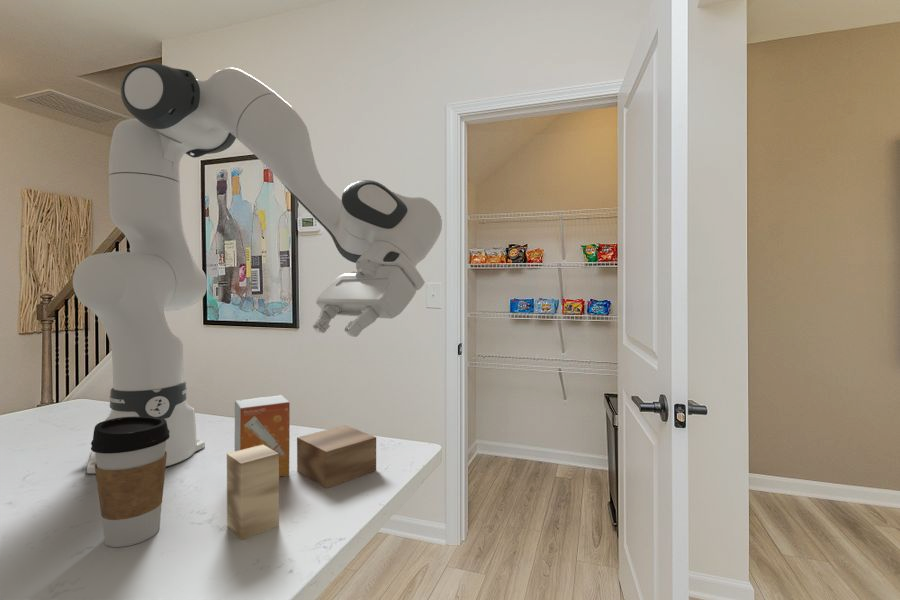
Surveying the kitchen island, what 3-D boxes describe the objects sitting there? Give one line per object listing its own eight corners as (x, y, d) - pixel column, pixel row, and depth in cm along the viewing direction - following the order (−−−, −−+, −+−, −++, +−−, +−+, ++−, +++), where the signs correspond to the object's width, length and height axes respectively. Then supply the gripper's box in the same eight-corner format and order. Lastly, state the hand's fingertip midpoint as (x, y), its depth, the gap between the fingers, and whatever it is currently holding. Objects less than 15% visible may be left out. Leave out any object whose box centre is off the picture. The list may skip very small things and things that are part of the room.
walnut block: (297, 470, 79) (297, 437, 79) (345, 455, 86) (345, 425, 86) (326, 488, 72) (326, 451, 72) (376, 470, 79) (376, 437, 79)
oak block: (227, 525, 61) (226, 453, 60) (263, 512, 64) (263, 444, 64) (241, 540, 57) (241, 463, 57) (279, 525, 61) (278, 453, 61)
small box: (239, 486, 73) (239, 407, 72) (234, 473, 78) (233, 399, 78) (290, 475, 77) (290, 401, 77) (282, 463, 82) (281, 394, 82)
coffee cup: (120, 519, 62) (118, 413, 62) (183, 517, 63) (182, 412, 62) (74, 555, 54) (72, 432, 53) (147, 551, 54) (146, 431, 54)
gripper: (338, 260, 81) (288, 316, 75) (410, 253, 67) (357, 321, 60) (358, 284, 85) (313, 340, 78) (432, 283, 70) (383, 350, 64)
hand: (332, 332), depth 69 cm, fingers open, 8 cm apart
